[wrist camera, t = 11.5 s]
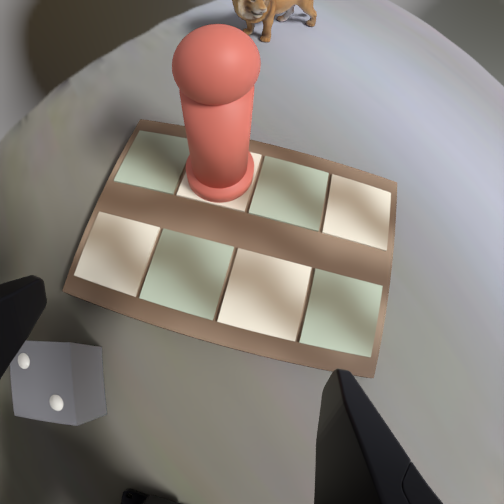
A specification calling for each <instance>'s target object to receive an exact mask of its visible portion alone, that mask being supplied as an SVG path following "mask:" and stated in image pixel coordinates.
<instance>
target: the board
mask: <svg viewBox="0 0 504 504" xmlns="http://www.w3.org/2000/svg"><path fill="white" fill-rule="evenodd" d="M249 152H250V153H251V155H252V157H253V160H254V173H253V180H252V183H251V185H250V187H249V189H248V190H247V191H246V192H245V193H244V194H243V195H242V196H240V197H239V198H237V199H235V200H232V201H229V202H224V203H215V202H210V201H206V200H204V199H202V198H200V197H199V196H197V195H196V194H195V193H194V192H193V191H192V189H191V188H190V186H189V183H188V179H187V174H186V161H187V158H188V156H189V155H190V152H189V147H188V141H187V135H186V129H185V126H180V125H174V124H168V123H162V122H156V121H149V120H142V119H140V121H139V123H138V124H137V126H136V128H135V130H134V131H133V133H132V135H131V137H130V138H129V140H128V142H127V144H126V146H125V148H124V149H123V151H122V153H121V155H120V157H119V159H118V161H117V163H116V165H115V167H114V169H113V171H112V173H111V175H110V177H109V179H108V181H107V183H106V185H105V187H104V189H103V191H102V193H101V195H100V197H99V200H98V202H97V204H96V206H95V208H94V211H93V213H92V215H91V218H90V220H89V222H88V224H87V227H86V229H85V232H84V234H83V236H82V239H81V241H80V244H79V246H78V249H77V252H76V254H75V257H74V259H73V262H72V265H71V267H70V270H69V273H68V276H67V279H66V282H65V284H64V287H63V290H62V291H63V292H65V293H67V294H70V295H72V296H75V297H77V298H80V299H82V300H85V301H87V302H90V303H93V304H95V305H98V306H101V307H103V308H106V309H109V310H111V311H114V312H117V313H120V314H122V315H125V316H128V317H131V318H134V319H137V320H140V321H143V322H146V323H149V324H152V325H155V326H158V327H161V328H164V329H167V330H170V331H173V332H177V333H180V334H183V335H187V336H190V337H193V338H197V339H200V340H203V341H207V342H210V343H214V344H218V345H221V346H225V347H228V348H232V349H236V350H240V351H244V352H247V353H251V354H255V355H259V356H264V357H268V358H272V359H276V360H280V361H285V362H289V363H294V364H298V365H303V366H308V367H312V368H317V369H322V370H327V371H332V372H333V371H334V370H335V369H337V368H339V369H344V370H348V371H350V372H351V373H352V375H354V376H360V377H366V378H374V374H375V369H376V364H377V359H378V354H379V349H380V344H381V338H382V333H383V327H384V320H385V314H386V307H387V300H388V293H389V285H390V277H391V268H392V259H393V248H394V236H395V221H396V203H397V182H394V181H391V180H388V179H385V178H383V177H380V176H377V175H374V174H371V173H368V172H365V171H362V170H359V169H355V168H352V167H349V166H346V165H343V164H339V163H336V162H333V161H329V160H326V159H323V158H319V157H316V156H312V155H309V154H305V153H301V152H298V151H294V150H290V149H286V148H282V147H278V146H275V145H270V144H266V143H262V142H258V141H254V140H250V141H249Z"/></svg>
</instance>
